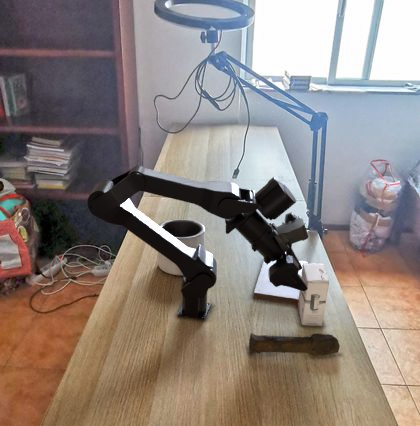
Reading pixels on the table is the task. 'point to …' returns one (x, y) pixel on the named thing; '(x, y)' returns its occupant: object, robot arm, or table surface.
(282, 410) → the table surface
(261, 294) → the walnut board
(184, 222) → the planter
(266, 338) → the hand tool
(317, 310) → the ink box
